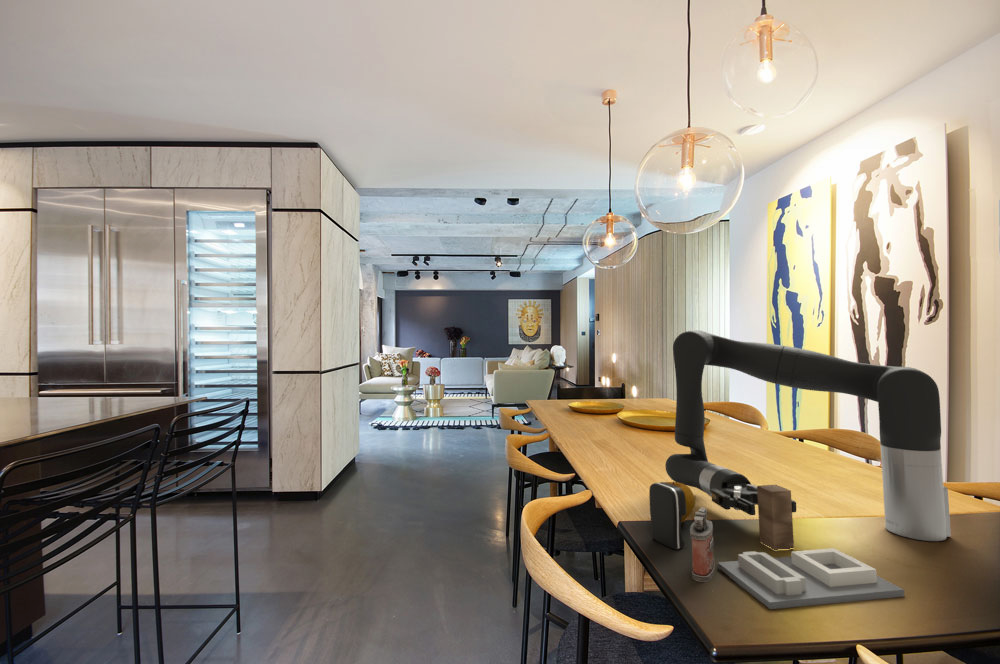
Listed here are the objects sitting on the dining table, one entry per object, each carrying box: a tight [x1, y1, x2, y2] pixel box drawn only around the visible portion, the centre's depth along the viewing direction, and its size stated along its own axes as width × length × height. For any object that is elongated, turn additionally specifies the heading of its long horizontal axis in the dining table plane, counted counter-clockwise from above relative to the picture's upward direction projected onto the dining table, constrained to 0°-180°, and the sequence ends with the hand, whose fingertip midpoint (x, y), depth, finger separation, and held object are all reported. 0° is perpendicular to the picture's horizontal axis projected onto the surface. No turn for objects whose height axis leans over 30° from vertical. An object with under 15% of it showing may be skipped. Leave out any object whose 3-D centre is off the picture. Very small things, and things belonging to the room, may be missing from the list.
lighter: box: [689, 507, 716, 583], centre depth 80 cm, size 8×3×10 cm, turn 148°
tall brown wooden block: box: [756, 484, 795, 550], centre depth 89 cm, size 4×4×11 cm
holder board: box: [717, 547, 905, 610], centre depth 75 cm, size 22×13×3 cm, turn 97°
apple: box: [664, 480, 696, 524], centre depth 102 cm, size 9×9×9 cm
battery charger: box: [648, 481, 686, 550], centre depth 92 cm, size 7×4×11 cm, turn 24°
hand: (774, 508), depth 89 cm, fingers open, 8 cm apart
